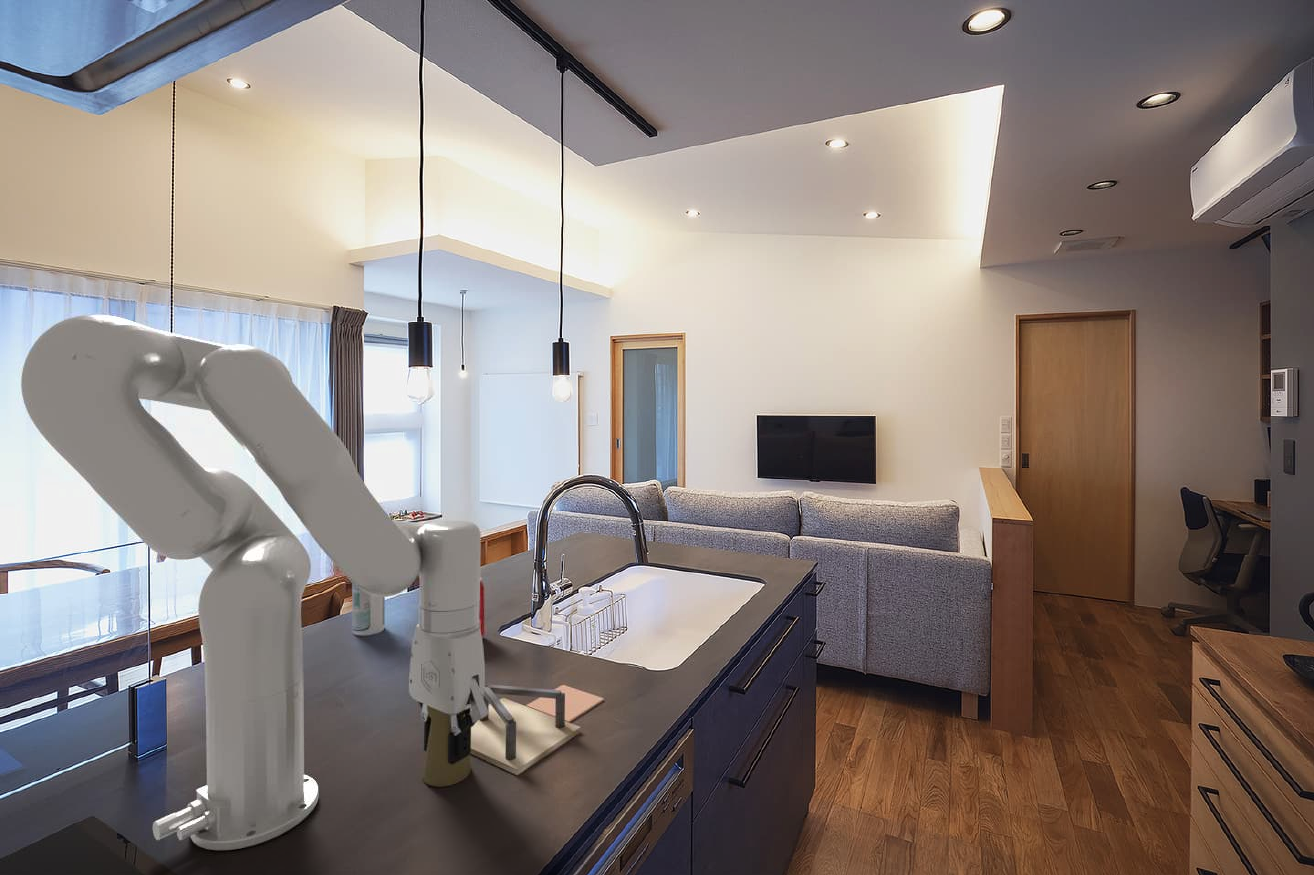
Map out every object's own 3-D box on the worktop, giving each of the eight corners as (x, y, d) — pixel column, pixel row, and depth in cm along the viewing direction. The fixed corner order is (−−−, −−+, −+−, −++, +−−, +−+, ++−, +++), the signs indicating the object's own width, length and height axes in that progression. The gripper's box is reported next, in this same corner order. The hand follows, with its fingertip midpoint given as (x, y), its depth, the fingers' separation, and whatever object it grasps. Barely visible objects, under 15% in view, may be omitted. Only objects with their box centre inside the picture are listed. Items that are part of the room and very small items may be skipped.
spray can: (345, 631, 130) (345, 539, 129) (373, 623, 135) (373, 534, 134) (363, 638, 126) (363, 543, 125) (391, 628, 132) (391, 538, 131)
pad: (568, 723, 93) (568, 721, 93) (526, 707, 98) (526, 705, 98) (603, 700, 101) (603, 698, 101) (563, 686, 105) (563, 684, 105)
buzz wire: (517, 775, 79) (517, 730, 79) (436, 737, 88) (436, 697, 88) (580, 732, 90) (580, 692, 90) (503, 702, 99) (503, 666, 99)
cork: (455, 789, 76) (457, 704, 76) (412, 782, 77) (414, 698, 77) (479, 763, 82) (480, 683, 82) (438, 756, 83) (440, 678, 83)
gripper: (385, 611, 80) (383, 745, 81) (469, 639, 71) (467, 790, 72) (432, 597, 87) (430, 722, 87) (516, 621, 78) (513, 760, 78)
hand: (447, 751), depth 79 cm, fingers closed on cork, 4 cm apart
